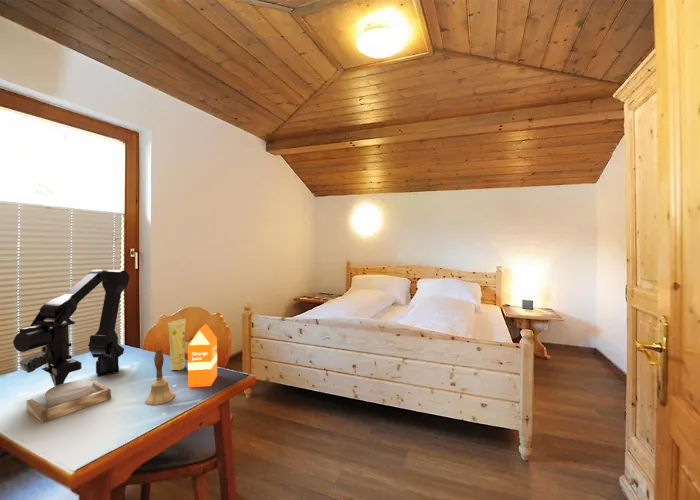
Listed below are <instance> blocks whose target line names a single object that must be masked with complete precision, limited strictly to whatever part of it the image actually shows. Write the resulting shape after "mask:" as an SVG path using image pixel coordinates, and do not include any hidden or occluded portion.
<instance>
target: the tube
mask: <svg viewBox="0 0 700 500" xmlns="http://www.w3.org/2000/svg"><path fill="white" fill-rule="evenodd" d="M186 324H187V319H186V318H181V319H177V320H173V321H168V322H167V329H168V339H169V340H168V341H169V357H170V363H169V365H170V370H171V371H172V370H178V371H181V370H184V369H185V366H186V364H185V362H186V361H185V359H186V358H185V355H186V354H185V352H186V349H185V348H186Z"/></svg>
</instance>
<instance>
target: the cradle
mask: <svg viewBox="0 0 700 500" xmlns="http://www.w3.org/2000/svg"><path fill="white" fill-rule="evenodd" d="M90 381H91V382H92V383H93V386H92V389H91V394H90V395H87V396H84V397H81V398H78V399H75V400H72V401H69V402H66V403H63V404H60V405H57V406H54V407H51V408H48V407H47V408H46V407H45V406H43V405H42V404H40V403H39V402H37V401H36V400H35V399H34V398H30V399H27V400H26V411H27V412H28V411H29V412H28V413H29V414H31V415H33V416H34V417H35V418H36V419H38V421H40V422H41V423H46V422H49V421H52V420H54V419H58V418H60V417H62V416H65V415H69V414H70V413H74V412H76V411H78V410H81V409H85V408H87V407H90V406H93V405H96V404H99V403H100V402H103V401H106V400H110V399H111V398H112V389H111V388H110V387H108V386H106V385H104V384H102V383H100V382H98V381H96V380H94V379H92V380H90Z"/></svg>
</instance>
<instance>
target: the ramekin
mask: <svg viewBox="0 0 700 500" xmlns="http://www.w3.org/2000/svg"><path fill="white" fill-rule="evenodd" d="M91 381H92V380H86V379H82V380H72V381H67V382H64V383H63V384H60V385H57V386H53V387H51V388H49V389H48V390H46V391H45V393H44V398H45V399H46V404H47V409H48V408H51V407H54V406H57V405H60V404H63V403H66V402H69V401H72V400H75V399H78V398H81V397H84V396H87V395H90V394H92V391H91V389H92V386H93V383H92V382H91Z"/></svg>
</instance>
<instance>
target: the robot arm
mask: <svg viewBox="0 0 700 500" xmlns="http://www.w3.org/2000/svg"><path fill="white" fill-rule="evenodd" d="M129 282H130V274H129V273H128V271H126V270H124V269H123V270H122V269H121V270H120V269H119V270H118V269H117V270H116V269H114V270H113V269H112V270H111V269H109V270H103V269H92V270H89V271H88V273H87V274H86V275H85V276H84V277H82V278H81V280H79V281H78V282H77V283H76V284H74V285H73V286H72V287H71V288H70V289H68V290H67V291H65V293H64V294H62V295H60V296H57V297H55V298H53V299H51V300H49V301H47V302H45V303H43V304H42V306H41V307H40V308H39V312H38V313H37V315H36V316H35V318H34V319H33V321H32V323H30V326H29V327H22V328H20V329H19V332H18V333H17V334H16V335H15V336H14V338H13V340H12V341H13V347H14V348H15V350H17V351H18V352H19V353H24V352H25V353H26V352H29V351H31V350H34V349H38V348H40V347H41V350H40V351H39V352H36V353H33V354H31V355H29V356H27V357H26V358H23V359H21V360H20V361H19V362H18V363H19V365H20V366H21V368H22V370H23V371H24V372H26V373H28V374H30V373H32V372H34V371H35V370H37V369H39V368H41V367H42V366H44V367H42V368H41V370H42V371H44V372H46V373H48V374H49V377H50V378H51V381H52V383H53V387H55V386H57V385H60V384H63V383H65V381H66V379H67V378H68V375H69V374H70V373H73V372H76V371H79V370H81V369H83V368H82V362H81V361H78V360H76V359H74V358H72V357H73V356H72V355H71V354H70V347H72V342H70V337H69V335H70V334H69V332H70V329H69V326H71V325H75V324H76V321H74V320H72V319H71V317H72V316H73V315H74V313H75V312H76V311H77V309H78V305H79V303H80V302H81V301H82V300H83V299H85V297H87V296H88V295H89V294H90V293H91V292H92V291H93V290H95V288H97V286H99V285H101V284H100V283H102V287H103V289H104V291H105V292H104V293H105V294H104V300H103V305H102V309H101V315H100V321H99V327H98V330H97V331H96V332H95V334H91V335H90V336H89V342H88V345H87V346H88V350H89V352H90V353H91V355H92V357H93V358H97V360H96V361H95V374H96V375H97V377H100V376H105V375H110V374H111V375H112V374H115V373H116V374H117V373H119V372H120V366H119V358H120V357H121V356H122V355H124V353H125V348H124V347H123V346H122V345H120V344H119V336H118V333H117V332H116V325H117V317H118V313H119V307H120V303H121V302H120V301H121V295H122V293H123V292H124V290H125V289H127V287H128V286H129V285H128V284H129Z"/></svg>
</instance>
